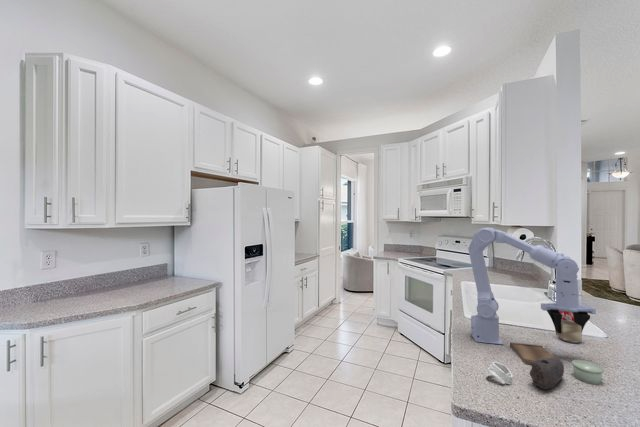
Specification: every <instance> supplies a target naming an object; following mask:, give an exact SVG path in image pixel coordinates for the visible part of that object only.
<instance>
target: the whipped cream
mask: <svg viewBox="0 0 640 427" xmlns="http://www.w3.org/2000/svg"><path fill="white" fill-rule="evenodd" d="M489 377H493V378H494V379H496V380H498V381H499V382H500V383H501V384H502V385H504V384H507V385H512V383H513V378H514V375H513V374H512V372H511V370H510V369H509V368H508V366H506V365H504V364H502V363H501V362H498V361H492V362H491V363H490V365H489V367H488V368H487V372H486V374H485V378H486V379H488V378H489Z"/></svg>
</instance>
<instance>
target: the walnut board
mask: <svg viewBox="0 0 640 427" xmlns="http://www.w3.org/2000/svg"><path fill="white" fill-rule="evenodd" d="M509 346H510V348H511V349H512V350H513V351H514V352H515V353H516V355H517V357H519V359H521V360H522V361H523V363H524V364H525V365H528V366H532V365H531V363H532V362H534V361H536V360H539V359H544V358H555V359H557V358H556V357H554V356H553V355H552V354H551V352H549V351H548V350H547V349H545V348H544V346H543V345H539V344H538V345H537V344H529V343H518V342H512V341H511V342H509Z"/></svg>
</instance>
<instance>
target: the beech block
mask: <svg viewBox="0 0 640 427" xmlns="http://www.w3.org/2000/svg"><path fill="white" fill-rule="evenodd" d="M555 335H556V336H559V337H560V338H559V337H558V338H559V339H561V338H562V339H563V340H562V339H561V340H562V341H564V340H569V341H580V342H579V343H582V342H583V331H582V326H580V325H578V324H577V323H575V322H573V321H566V320H561V333H558V332H556V331H555Z"/></svg>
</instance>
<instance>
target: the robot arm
mask: <svg viewBox="0 0 640 427" xmlns="http://www.w3.org/2000/svg"><path fill="white" fill-rule="evenodd" d="M494 242H495V243H496V244H498V243H499V244H507V245H509V246H511V247H514V248H516V249H519V250H520V251H523V252H524V253H525V252H526V253H527V254H529V257H530V259H531V260H534V261H535V262H537V263H540V264H541V265H543V266H546V267H548V268H550V269H555V271H556V277H555V303H551V302H550V303H549V302H548V303H543V302H542V303H540V310H542V311H546V313H547V314H548V315H549V317H550V319H551V321H552V323H553V326H554V330H555V333H556V332H558V333H561V320H562V316H563V315H562V314H560V312H559V311H565V312H573V316H574V321H575V323H577V324H578V325H580V326H582V332H583V331H584V328H585V326H586V324H587V322H588V321H589V320H590V319H591V315H590V314H592V315H596V314H597V313H596V312H597V311H596V310H597V309H596V308H595V307H593V306H587V305H580V302H579V301H580V300H579V299H580V298H579V280H578V272H579V271H580V268H579V266H578V263H577V262H576V261H575V260H574V259H572V257H570V256H565V254H564V253H558V252H556V251H554V250H552V249H550V248H549V246H548V245H541V244H536V245H532V244H530V243H528V242H526V241H524V240H522V239H520V238H517V237H516V236H514V235H512V234H509V233H508V232H505V231H503V230H500V229H495V228H494V227H492V226H491V227H482V228H479V229H478V230H477V231H476V232H475V233H474V234H473V236H472V240H470V243H469V245H468V247H467V248H468V254H469V257H470V258H469V259H470V264H471V268H472V272H473V277H474V282H475V288H476V292H477V296H476V297H477V298H476V300H477V304H476V312H477V314H476V315H475V314H474V315H471V316H470V335H471V336H472V339H473V340H474V341H475V342H476V343H485V344H486V343H487V344H493V345H495V344H496V345H497V344H498V345H504V342H503V341H502V339H501V338H500V318H499V315H498V314H497V311H498V310H499V303H498V301H497V300H496V298H495V296H494V292H492V288H491V284H490V278H489V275H488V274H489V273H488V269H487V266H486V261H485V257H484V250H485V249H487V247H488V246H489V245H491V244H492V243H494Z"/></svg>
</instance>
